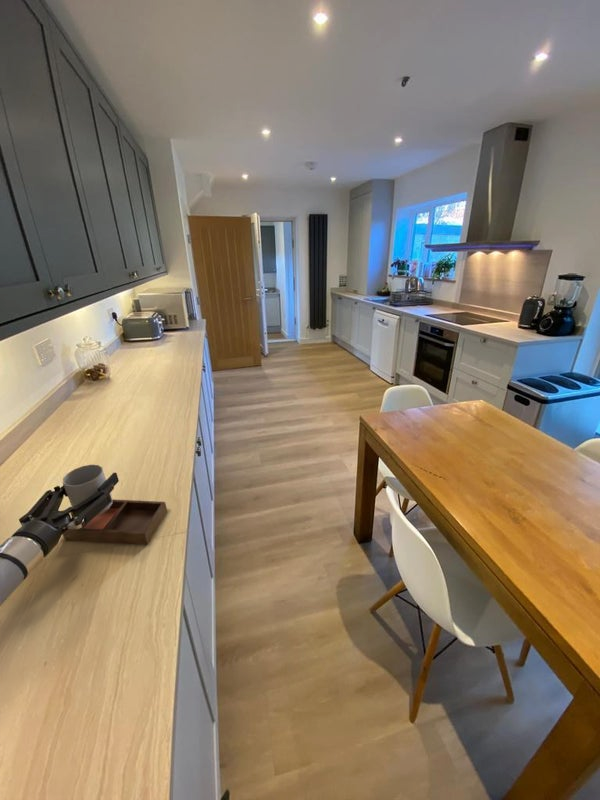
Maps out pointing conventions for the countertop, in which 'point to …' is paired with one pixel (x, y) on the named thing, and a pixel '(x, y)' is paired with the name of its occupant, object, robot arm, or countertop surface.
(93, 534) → the tray
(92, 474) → the cup
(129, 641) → the countertop surface
